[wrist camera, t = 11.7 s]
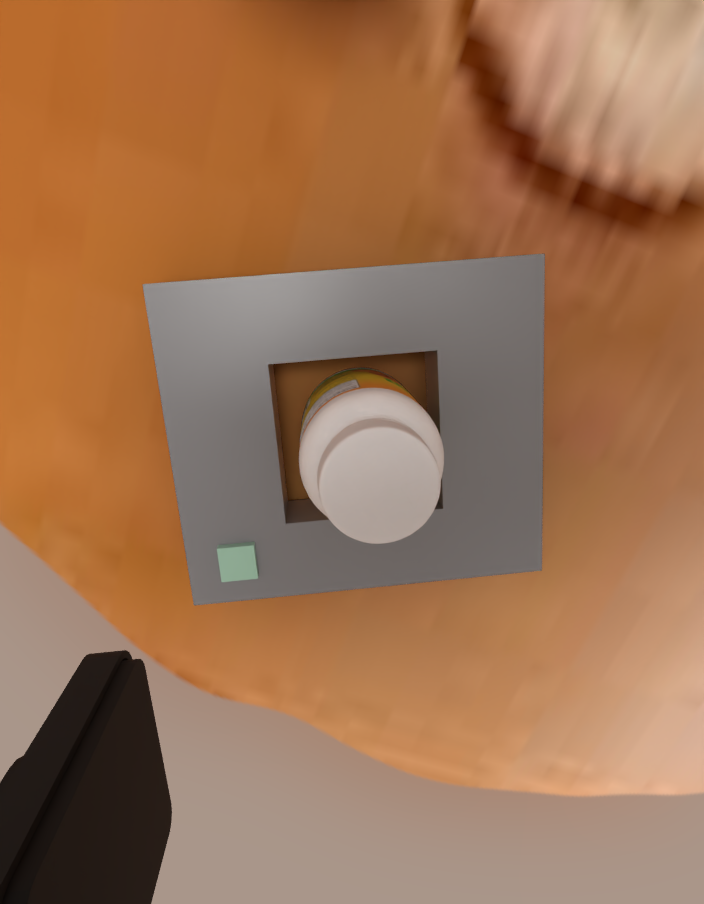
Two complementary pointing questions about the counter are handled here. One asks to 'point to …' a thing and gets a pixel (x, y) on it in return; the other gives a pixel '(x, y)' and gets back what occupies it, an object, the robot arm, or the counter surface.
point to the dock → (344, 336)
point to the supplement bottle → (370, 456)
